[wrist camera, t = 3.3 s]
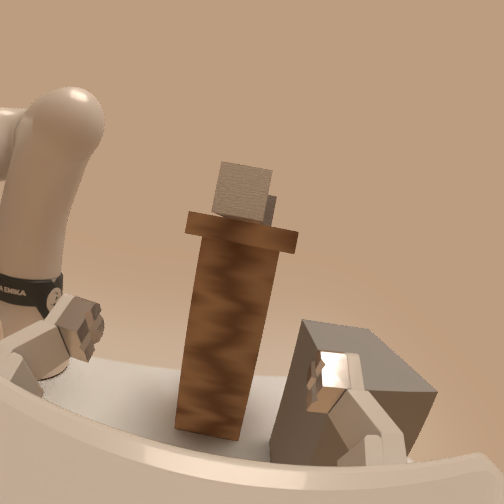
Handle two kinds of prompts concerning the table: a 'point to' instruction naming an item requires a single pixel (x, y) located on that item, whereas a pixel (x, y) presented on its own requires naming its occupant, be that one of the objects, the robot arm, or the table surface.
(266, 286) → the brown wooden post
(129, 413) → the table surface
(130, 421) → the table surface
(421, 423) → the pedestal
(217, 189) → the link bar
